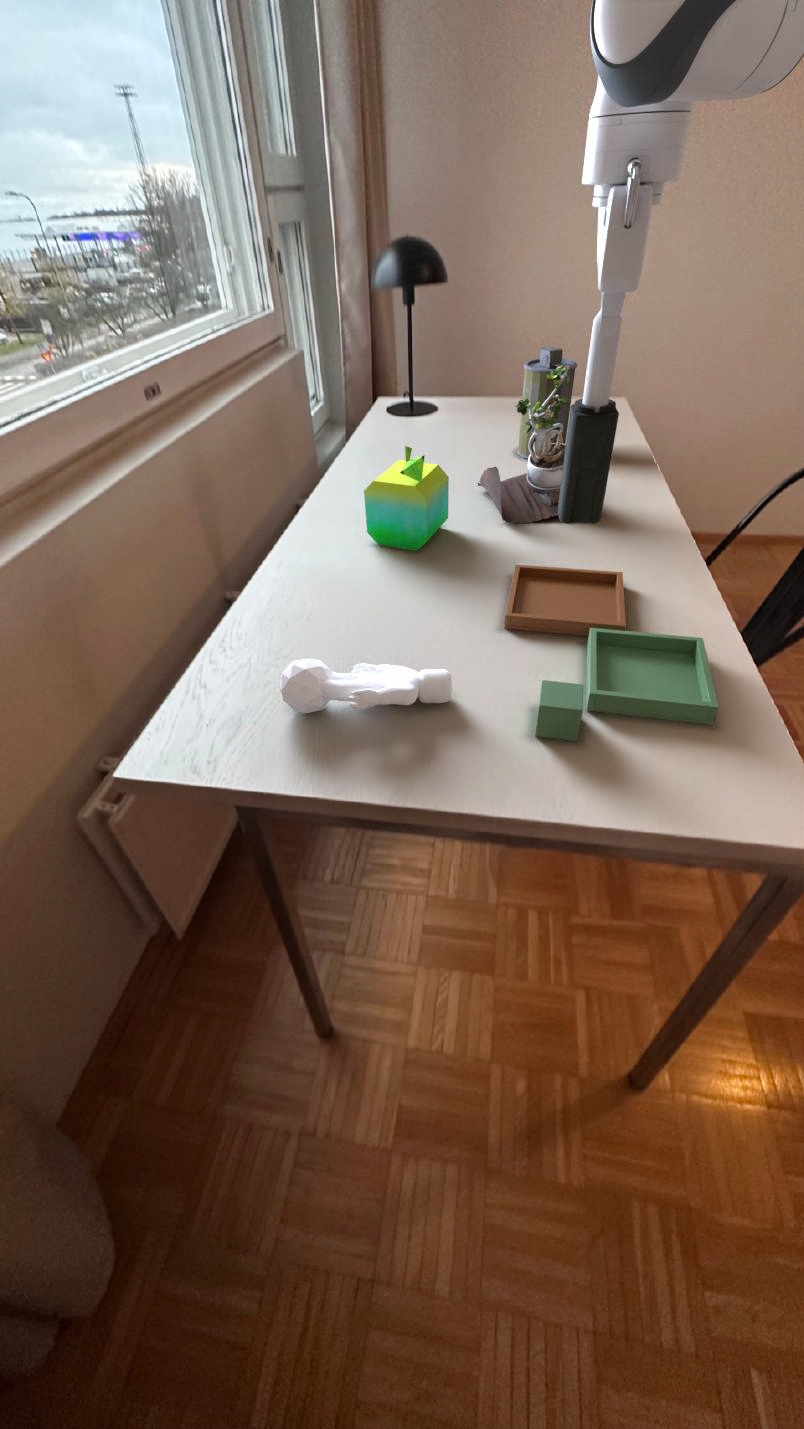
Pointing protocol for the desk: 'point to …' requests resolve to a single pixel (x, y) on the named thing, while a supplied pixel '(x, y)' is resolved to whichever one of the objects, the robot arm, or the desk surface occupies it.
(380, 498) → the low-poly cube fruit
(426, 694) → the figure
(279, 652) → the desk surface
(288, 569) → the desk surface
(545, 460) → the potted plant
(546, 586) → the wood tray
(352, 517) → the desk surface
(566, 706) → the green block
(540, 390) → the canister
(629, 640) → the green tray
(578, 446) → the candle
